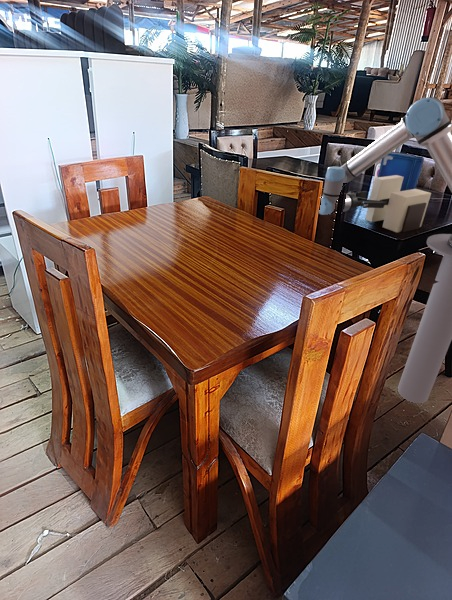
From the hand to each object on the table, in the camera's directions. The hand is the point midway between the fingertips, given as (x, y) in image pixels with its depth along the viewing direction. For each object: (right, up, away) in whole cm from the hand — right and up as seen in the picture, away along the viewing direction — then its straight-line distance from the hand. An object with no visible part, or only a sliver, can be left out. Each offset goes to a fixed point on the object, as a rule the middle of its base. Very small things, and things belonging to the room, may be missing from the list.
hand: (377, 197), depth 187 cm
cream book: (+4, -8, +8) cm, 12 cm away
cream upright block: (+11, -14, -1) cm, 18 cm away
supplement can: (+24, +20, +60) cm, 67 cm away
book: (+25, +10, +42) cm, 50 cm away
